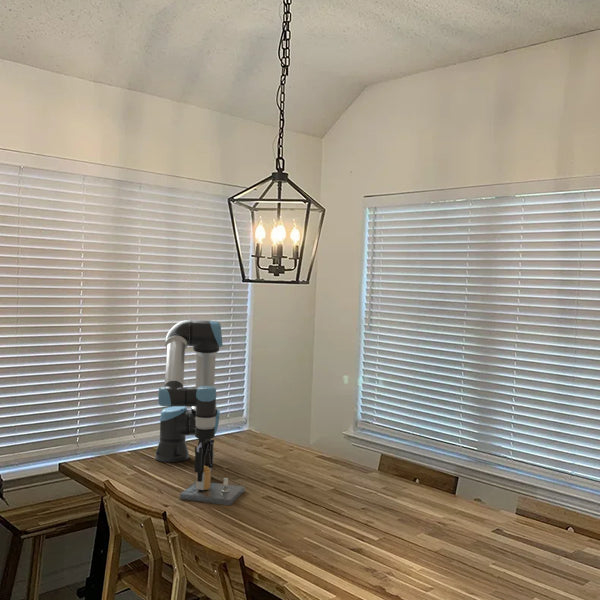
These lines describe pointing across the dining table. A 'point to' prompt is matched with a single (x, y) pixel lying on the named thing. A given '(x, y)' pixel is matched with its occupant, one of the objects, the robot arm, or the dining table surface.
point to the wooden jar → (206, 478)
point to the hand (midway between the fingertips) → (203, 486)
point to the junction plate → (213, 493)
